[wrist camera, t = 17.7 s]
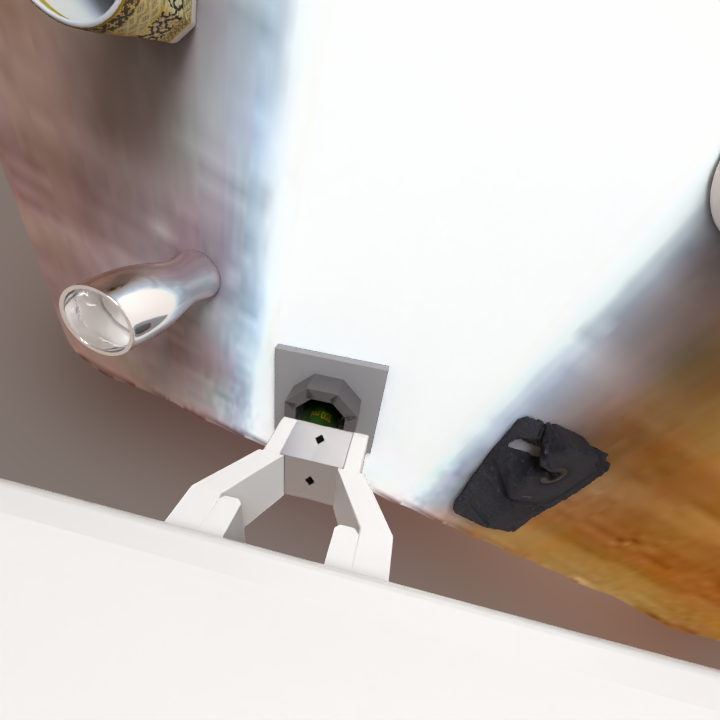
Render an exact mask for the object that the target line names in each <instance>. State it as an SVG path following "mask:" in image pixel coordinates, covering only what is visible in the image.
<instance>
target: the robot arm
mask: <svg viewBox="0 0 720 720" xmlns="http://www.w3.org/2000/svg"><path fill="white" fill-rule="evenodd" d="M710 207H711V213H712V217H713V220H714V222H715V224H716V226H717V228H718V229H719V231H720V161H719V164H718V166H717V169H716V171H715V174H714V178H713V181H712V186H711V193H710ZM368 438H369V436H368V435H364V434H359V433H355V432H350V431H345V430H340V429H336V428H331V427H325V426H321V425H318V424H314V423H310V422H306V421H302V420H296V419H292V418H288V417H284V418H283V419H281V421H280V423H279V424H278V426H277V428H276V429H275V431H274V433H273V434H272V436H271V438H270V439H269V441H268V443H267V444H266V446H265V448H264V449H263V450H260V449H259V450H257V451H255V452H253V453H251V454H249V455H247V456H246V457H244V458H242V459H240V460H238V461H236V462H235V463H233V464H231V465H229V466H227V467H225V468H223V469H222V470H220V471H218V472H216V473H214V474H212V475H210V476H209V477H207V478H205V479H203V480H201V481H199V482H198V483H196V484H194V485H192V486H191V487H190V489H189V490H188V491H187V493H186V494H185V496H184V497H183V498H182V499H181V501H180V502H179V503H178V505H177V506H176V507H175V508H174V510H173V511H172V513H171V514H170V515H169V516H168V518H167V519H166V520H165V522H163V521H159V520H155V519H151V518H148V517H144V516H140V515H137V514H133V513H129V512H125V511H121V510H118V509H114V508H110V507H107V506H103V505H99V504H95V503H92V502H88V501H84V500H80V499H77V498H73V497H69V496H65V495H62V494H58V493H54V492H50V491H47V490H43V489H39V488H36V487H32V486H28V485H24V484H21V483H17V482H13V481H9V480H6V479H1V478H0V720H720V670H718V669H714V668H710V667H707V666H703V665H698V664H695V663H691V662H687V661H684V660H680V659H676V658H672V657H669V656H665V655H661V654H658V653H654V652H650V651H646V650H643V649H639V648H635V647H631V646H627V645H624V644H620V643H616V642H613V641H609V640H605V639H601V638H598V637H594V636H590V635H586V634H583V633H579V632H575V631H571V630H568V629H564V628H560V627H556V626H552V625H549V624H545V623H541V622H538V621H534V620H530V619H526V618H523V617H519V616H515V615H511V614H507V613H504V612H500V611H496V610H493V609H489V608H485V607H482V606H478V605H473V604H470V603H466V602H463V601H459V600H455V599H451V598H448V597H444V596H440V595H436V594H433V593H429V592H425V591H422V590H418V589H414V588H410V587H407V586H403V585H399V584H395V583H392V582H388V580H389V571H390V561H391V552H392V542H393V536H392V534H391V531H390V530H389V527H388V525H387V523H386V520H385V518H384V516H383V514H382V512H381V510H380V507H379V505H378V503H377V501H376V499H375V496H374V494H373V492H372V490H371V488H370V485H369V483H368V481H367V479H366V477H365V474H362V470H363V465H364V459H365V454H366V449H367V443H368ZM284 494H288V495H293V496H298V497H302V498H307V499H311V500H314V501H318V502H321V503H325V504H329V505H332V506H333V508H334V512H335V516H336V519H337V523H338V526H337V527H335V528H334V532H333V536H332V539H331V543H330V546H329V549H328V553H327V557H326V560H325V563H324V564H320V563H316V562H313V561H309V560H305V559H301V558H298V557H294V556H290V555H286V554H283V553H278V552H275V551H271V550H268V549H264V548H260V547H256V546H253V545H249V544H245V536H244V527H245V526H246V525H248V524H249V523H250V522H251V521H253V520H254V519H255V518H256V517H257V516H259V515H260V514H261V513H262V512H264V511H265V510H266V509H267V508H268V507H270V506H271V505H272V504H273V503H275V502H276V501H277V500H278V499H280V498H281V497H282V496H283V495H284Z"/></svg>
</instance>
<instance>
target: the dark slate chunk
mask: <svg viewBox="0 0 720 720" xmlns="http://www.w3.org/2000/svg"><path fill="white" fill-rule="evenodd" d="M542 426H543V427H542ZM544 426H546V427H544ZM519 438H522V440H524V441H526V442H528V443H531V444H533V445H536V446H539V447H540V448H541V452H540V457H535V456H531V455H530V453H528V452H525V451H521V450H517V449H513V448H510V447H508V443H510V442H512V441H513V440H515V439H519ZM608 455H609V454H607V453H604V452H602V451H600V450H598V449H597V448H595V447H592V446H590V445H589V444H588V442H587V441H586V440H585V439H584V438H583V437H582V436H580V435H578V434H576V433H575V432H572V431H570V430H568V429H565V428H563V427H561V426H559V425H557V424H552V425H551V424H550V423H549V422H548V423H547V424H544V423H543V422H542V421H541V420H537V421H536V420H535V419H533V418H529V417H527V416H526V417H524V418H520V419H518V420H517V422H516V423H515V424H514V427H512V428H511V429H510V430H509V431H508V433H507V435H505V436H504V437H503V439H502V440H501V441H500V442H499V443H498V444H497V445H496V446H495V447H494V448H493V450H492V451H491V452H490V453H489V455H488V456H487V458H486V459H485V460H484V463H483V464H482V465H481V466H480V469H479V470H478V471H477V472H476V473H475V474H474V475H473V478H472V479H471V480H470V481H469V483H468V485H467V486H466V488H465V489H464V490H463V493H462V494H461V495H460V496H459V497H458V498H457V499H456V501H455V503H454V505H453V510H454V511H455V513H457V514H459V515H461V516H463V517H465V518H467V519H469V520H471V521H474V522H475V523H477V524H479V525H482V526H484V527H486V528H492V529H500V530H504V531H507V532H509V531H512V532H514V531H516V530H517V529H518V528H520V527H521V526H522V525H524V524H525V523H526V522H527V521H528V520H530V519H531V518H532V517H535V516H537V515H538V514H540V513H541V512H543V511H545V510H546V509H548V508H551V507H553V506H555V505H556V504H557V503H559V502H561V501H562V500H566V499H567V498H568V497H570V496H571V495H572V494H575V493H577V492H578V491H579V490H581V488H584V487H585V486H587V485H588V484H590V483H591V482H592V481H594V480H595V479H596V478H597V477H600V476H602V475H603V473H605V472H607V471H608V469H609V466H610V464H609V463H608V462H606V460H605V459H606V457H607V456H608Z"/></svg>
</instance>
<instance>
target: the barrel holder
mask: <svg viewBox="0 0 720 720" xmlns="http://www.w3.org/2000/svg"><path fill="white" fill-rule="evenodd" d="M388 369H389V366H386V365H381V364H376V363H371V362H366V361H361V360H356V359H351V358H346V357H341V356H336V355H331V354H326V353H321V352H316V351H311V350H306V349H302V348H297V347H292V346H287V345H282V344H278V345H277V346H276V347H275V429H276V428H277V426H278V424H279V423H280V421H281V419H283V418H284V417H288V418H292V419H296V420H297V419H298V417H299V415H300V413H301V410H302V408H303V406H304V404H305V402H306V401H308V400H310V399H314V400H319V401H323V402H328V403H332V404H333V405H334V406H335V407H336V408H337V410H338V411H339V412H340V413H341V414H342V418H341V421H340V424H339V427H338V429H340V430H345V431H350V432H355V433H359V434H364V435H368V436H369V438H368V443H367V449H366V453H370V452H371V447H372V443H373V438H374V434H375V429H376V424H377V420H378V415H379V411H380V406H381V402H382V397H383V392H384V388H385V383H386V379H387V374H388Z"/></svg>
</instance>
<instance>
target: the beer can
mask: <svg viewBox="0 0 720 720" xmlns="http://www.w3.org/2000/svg"><path fill="white" fill-rule="evenodd" d="M341 418H342V414H341V413H340V412H339V411H338V410H337V408H336V407H335V406H334V405H333V404H332V403H328V402H323V401H319V400H314V399H310V400H308V401H306V402H305V404H304V406H303V408H302V410H301V413H300V415H299V417H298V419H297V420H302V421H306V422H310V423H314V424H318V425H321V426H325V427H331V428H336V429H338V427H339V424H340V421H341Z"/></svg>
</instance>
